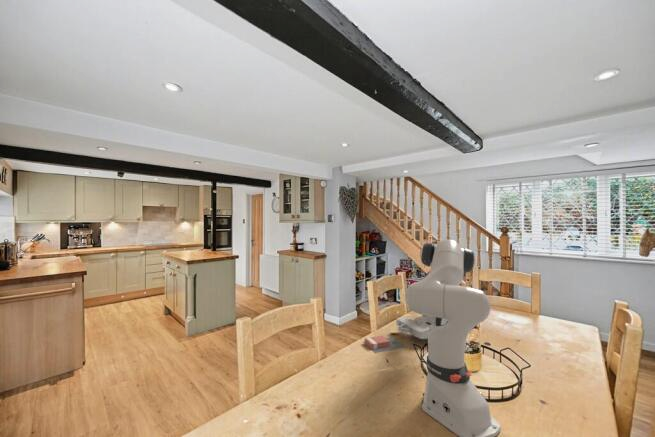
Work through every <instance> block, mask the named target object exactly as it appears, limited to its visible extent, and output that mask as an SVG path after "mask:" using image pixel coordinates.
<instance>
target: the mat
mask: <svg viewBox="0 0 655 437" xmlns="http://www.w3.org/2000/svg"><path fill="white" fill-rule="evenodd" d="M385 338H386V339H387V340H389V341H390V346H389V347H383V348H377V349H371V348H369V349H370V350H371V351H372V352H374V354H376V353H377V354H378V353H383V352H388V351H393V350H394V351H395V350H398V349H404V348H406V346H405V345H404V344H403V343H401V342H400V341H398V340H396V338H393V337H391V336H390V337H385ZM363 344H364V345H366V344H365V341H363Z"/></svg>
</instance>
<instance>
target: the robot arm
mask: <svg viewBox="0 0 655 437" xmlns="http://www.w3.org/2000/svg"><path fill="white" fill-rule="evenodd" d="M419 257H420V262H421V263H422V264H423V265H424V266H426V267H429V268H430V270H429V271H427V272H426V275H425V276H424V277H423V278H422V279H420V280H418V281H416V282H413V283H411V284H410V285H408V287H407V289H406V290H405V294H404V301H405V304H406V306H407V308H408V310H409V311H410V312H413V313H416V314H419V315H421V316H416V317H415V318H414V319H411V318H410V317H398V318H396V322H395V323H396V326H397V331H399V332H400V333H409V334H411V335H412V336H414V337H416V338H417V339H419V340H427V356H426V369H427V374H426V379H425V385H424V386H425V387H424V394H423V398H422V399H423V401H422V402H423V403H422V405H421V409H422V411H423V412H424V413H426V414H428V416H430V417H432V418H433V419H434V420H436V421H437V422H439V423H440V424H441V425H442V426H444V427H445V428H447V429H449V431H451V432H452V433H454V434H455V435H456V436H458V437H496V436H498V434H500V431H501V424H500V423H499V422H498V420H496V419H495V418H494V417H493V416H492V415H491V409H490V406H489V403H488V401H487V400H486V399H485V396H484V394H483V393H482V392H481V391H480V390H479V389H478V388H477V386H475V384H474V383H473V381H472V380H471V376H473V371H472V370H471V371H469V370H468V367H467V363H466V361H465V360H466V359H465V357H466V356H465V353H466V351H465V350H466V342H467V338H468V335H469V334H470V332H471V331H472V330H473V329H474V328H475V327H476V326H477V325H479V324H481V323H483V322H484V321H486V320H487V319H488V317H489V316H490V315H491V314H490V313H491V310H492V308H491V307H492V305H491V301H490V299H489V297H488V296H487V294H486V293H485V292H484V290H481V289H478V288H474V287H472V286H471V287H470V286H464V285H460V284H461V282H463V279H464V278H465V277H464V276H465V275H464V274H465V273H471V272H472V271H473V269H474V267H475V264H476V256H475V253H474V252H473V250H471V249H469V248H466V247H464V248H463V247H461V246H460V244H459V243H458V242H457V241H455V240H454V239H450V238H449V239H443V240H440V241H439V242H438V243H431V242H429V243H425V244H424V245H422V248H421V250H420V252H419ZM423 315H425V316H423Z"/></svg>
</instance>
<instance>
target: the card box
mask: <svg viewBox="0 0 655 437" xmlns="http://www.w3.org/2000/svg"><path fill="white" fill-rule="evenodd" d="M386 338H387V337H385V336H384V335H377V336H372V337H365V338H364V342H365V344H364V345H365V346H367V347H368V348H369V349H370V348H371V349H377V348H383V347H389V346H390V341H389V340H387V339H386ZM371 349H370V350H371Z"/></svg>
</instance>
